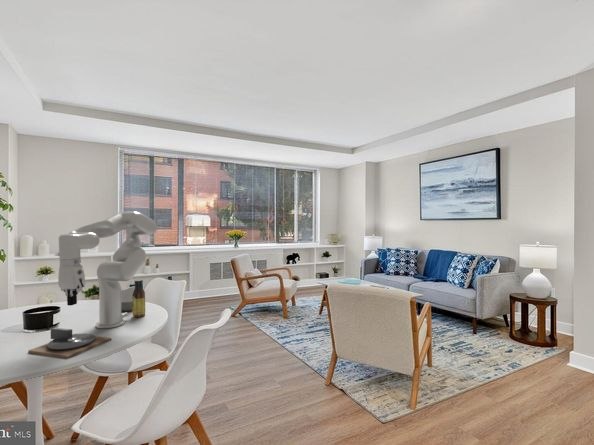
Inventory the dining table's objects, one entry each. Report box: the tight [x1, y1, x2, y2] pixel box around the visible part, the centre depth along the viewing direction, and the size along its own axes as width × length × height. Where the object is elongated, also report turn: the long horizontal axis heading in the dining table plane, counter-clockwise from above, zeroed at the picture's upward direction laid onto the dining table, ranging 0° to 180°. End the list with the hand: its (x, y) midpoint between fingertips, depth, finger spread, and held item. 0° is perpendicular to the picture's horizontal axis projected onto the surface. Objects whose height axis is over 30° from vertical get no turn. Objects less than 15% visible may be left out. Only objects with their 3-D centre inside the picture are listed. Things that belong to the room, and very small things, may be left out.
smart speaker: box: [121, 285, 135, 312], centre depth 190 cm, size 10×9×14 cm
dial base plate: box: [27, 335, 112, 359], centre depth 135 cm, size 20×20×1 cm
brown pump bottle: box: [132, 279, 146, 318], centre depth 178 cm, size 6×6×20 cm
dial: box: [47, 327, 96, 351], centre depth 135 cm, size 18×16×5 cm
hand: (72, 304), depth 142 cm, fingers closed
